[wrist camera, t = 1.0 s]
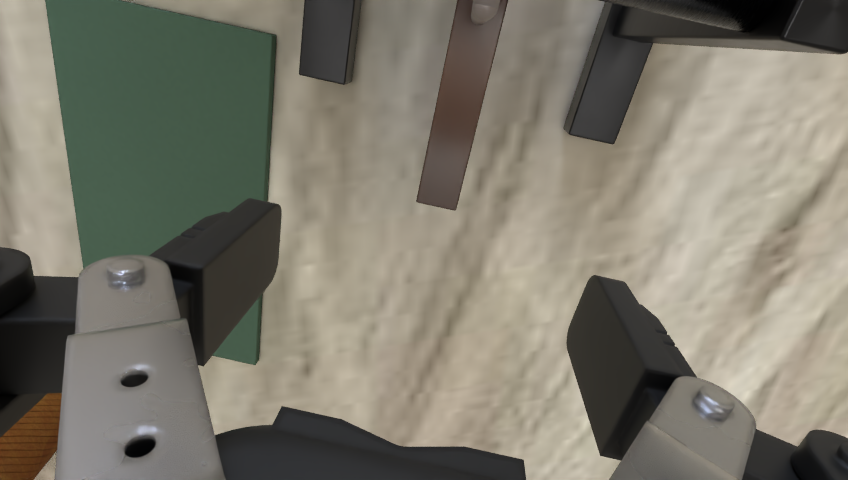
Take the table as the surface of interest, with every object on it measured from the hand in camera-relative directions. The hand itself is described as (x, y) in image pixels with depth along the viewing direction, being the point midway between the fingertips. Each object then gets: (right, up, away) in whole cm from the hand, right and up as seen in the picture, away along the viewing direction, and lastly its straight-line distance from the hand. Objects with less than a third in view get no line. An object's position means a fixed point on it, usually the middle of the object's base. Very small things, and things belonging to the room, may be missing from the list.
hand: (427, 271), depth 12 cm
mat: (-16, +3, +17) cm, 23 cm away
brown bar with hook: (+2, +11, +7) cm, 13 cm away
